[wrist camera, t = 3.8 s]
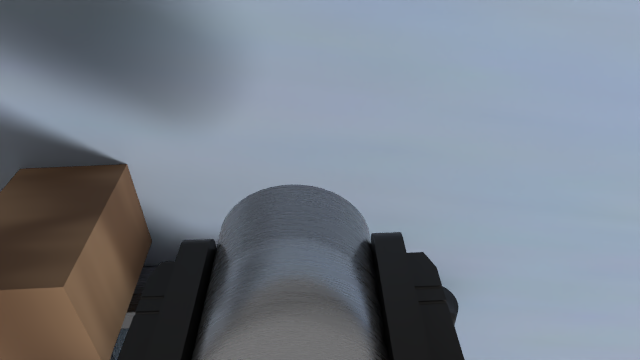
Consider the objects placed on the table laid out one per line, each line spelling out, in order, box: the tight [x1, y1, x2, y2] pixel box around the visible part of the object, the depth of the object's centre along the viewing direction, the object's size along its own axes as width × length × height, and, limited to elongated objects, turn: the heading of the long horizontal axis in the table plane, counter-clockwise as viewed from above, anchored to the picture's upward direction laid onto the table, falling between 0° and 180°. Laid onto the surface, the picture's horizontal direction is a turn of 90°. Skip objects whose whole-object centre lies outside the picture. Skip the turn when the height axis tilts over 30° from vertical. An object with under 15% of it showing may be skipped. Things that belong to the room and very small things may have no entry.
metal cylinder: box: [191, 185, 389, 360], centre depth 10 cm, size 4×4×6 cm
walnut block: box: [0, 164, 152, 360], centre depth 16 cm, size 4×4×6 cm
